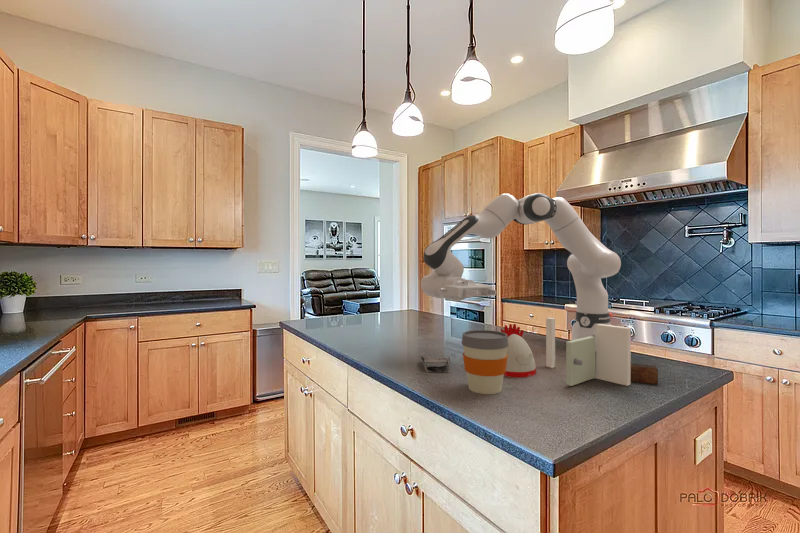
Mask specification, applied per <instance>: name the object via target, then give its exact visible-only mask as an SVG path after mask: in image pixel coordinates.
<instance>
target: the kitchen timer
mask: <svg viewBox="0 0 800 533" xmlns="http://www.w3.org/2000/svg"><path fill="white" fill-rule="evenodd" d="M508 325H509V326H508ZM508 325H507V324H504V329H500V332H503V333H506V334H507V335H508V344H509V346H508V347H507V352H506V355H507V356H508V357H507V365H506V372H505V373H504V376H503V377H506V378H507V377H508V378H528V377H532V376H535V375H536V374H537V365H536V361H535V357H534V354H533V352H532V350H531V348H530V345H529V344H528V343H527V341H526V340H525V339H524V338H523V335H524V330H523V329H521V327H520V326H517V324H516V323H513V324H511V323H509V324H508Z"/></svg>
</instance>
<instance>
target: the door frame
mask: <svg viewBox="0 0 800 533" xmlns="http://www.w3.org/2000/svg"><path fill="white" fill-rule="evenodd" d="M631 330H632V327H629V326H628V327H626V326H619V325H613V324H611V325H604V324H597V325H596V351H595V378H593V379H594V380H596V379H597V380H602V381H605V382H609V383H613V384H617V385H622V386H627V387H628V386H630V385H631V384H632V382H631V364H632V363H631V362H632V358H631V356H632V354H631V353H632V352H631V348H632V347H631V344H632V342H631V341H632V340H631V337H632V334H631V332H632V331H631ZM545 333H546V334H545V342H546V343H545V344H546V345H545V350H546V351H545V358H546V359H545V366H546V368H549V369H550V368H551V369H553V368H555V367H556V318H554V317H546V318H545ZM592 337H595V335H594V334H593V335H592ZM593 379H592V380H593Z"/></svg>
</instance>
